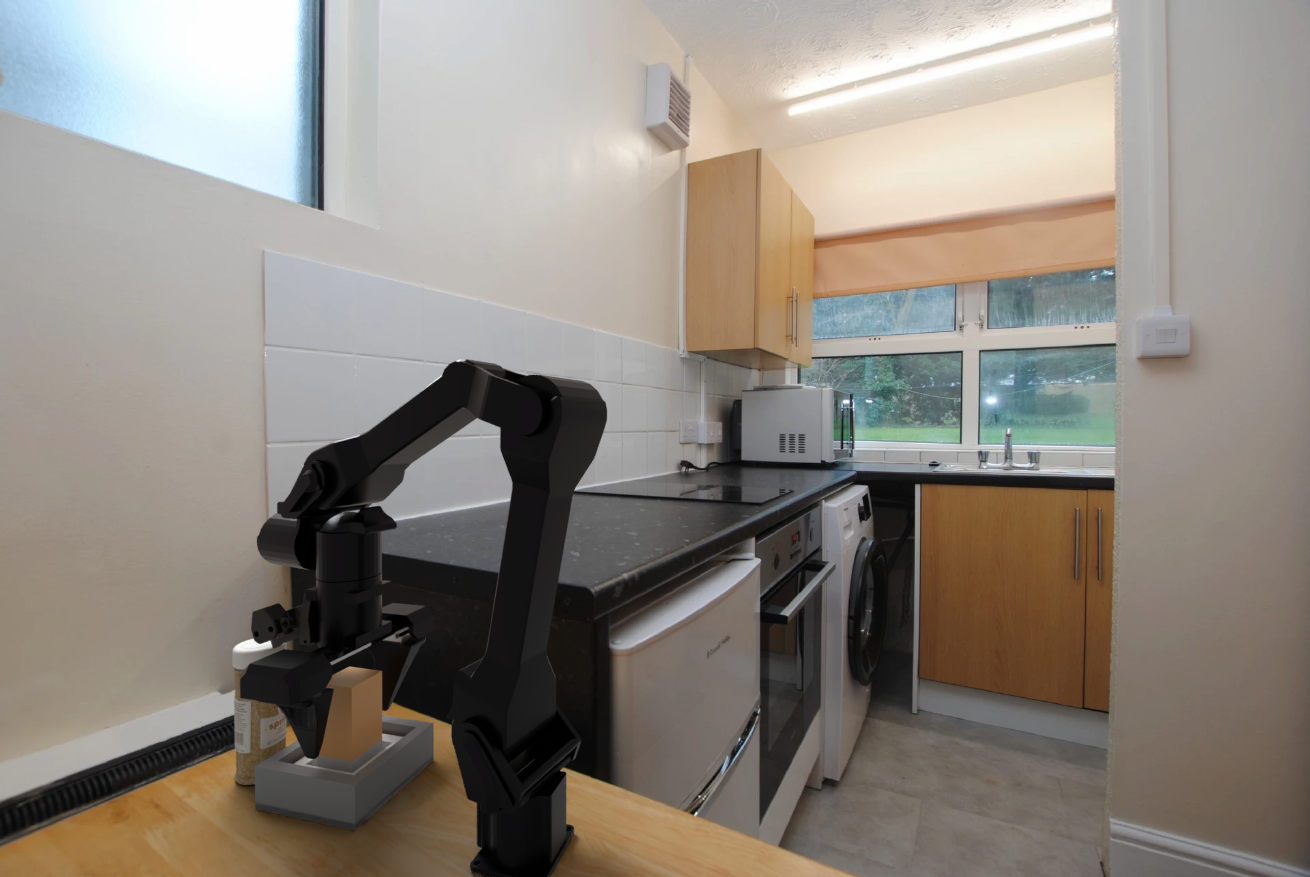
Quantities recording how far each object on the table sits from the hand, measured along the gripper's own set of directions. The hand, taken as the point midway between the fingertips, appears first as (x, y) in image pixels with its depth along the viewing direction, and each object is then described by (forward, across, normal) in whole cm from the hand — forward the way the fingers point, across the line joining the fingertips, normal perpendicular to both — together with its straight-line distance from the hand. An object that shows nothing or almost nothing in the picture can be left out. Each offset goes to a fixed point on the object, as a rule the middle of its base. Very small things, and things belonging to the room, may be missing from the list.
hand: (350, 732), depth 57 cm
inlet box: (+5, 0, 0) cm, 5 cm away
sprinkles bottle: (+5, +1, -10) cm, 11 cm away
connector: (+4, 0, 0) cm, 4 cm away
